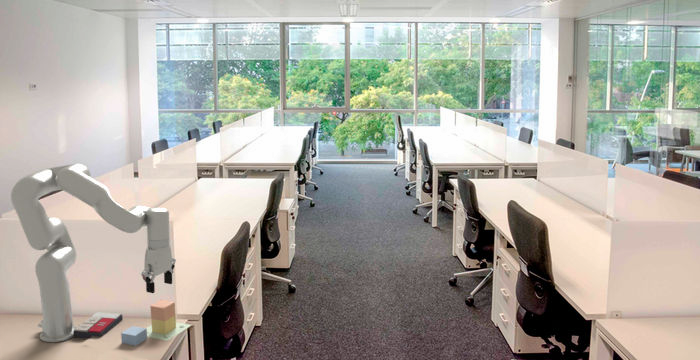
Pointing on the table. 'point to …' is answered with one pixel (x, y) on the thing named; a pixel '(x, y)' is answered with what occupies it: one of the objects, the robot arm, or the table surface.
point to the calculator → (97, 325)
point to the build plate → (169, 335)
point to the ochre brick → (163, 325)
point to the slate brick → (134, 335)
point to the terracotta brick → (162, 310)
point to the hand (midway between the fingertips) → (159, 287)
